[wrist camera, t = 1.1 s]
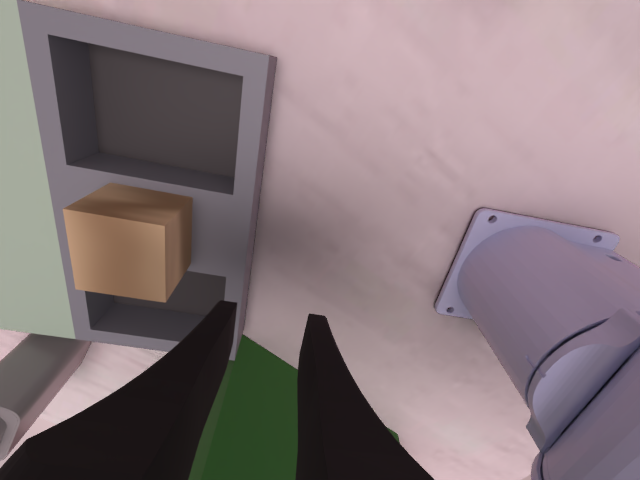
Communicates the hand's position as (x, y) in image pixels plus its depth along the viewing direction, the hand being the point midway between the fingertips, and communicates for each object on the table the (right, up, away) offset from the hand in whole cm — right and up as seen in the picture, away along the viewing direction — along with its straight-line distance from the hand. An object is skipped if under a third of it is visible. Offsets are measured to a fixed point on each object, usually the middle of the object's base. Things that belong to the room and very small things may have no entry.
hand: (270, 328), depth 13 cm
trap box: (-10, +6, +7) cm, 14 cm away
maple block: (-7, +4, +5) cm, 9 cm away
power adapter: (-17, -4, +13) cm, 22 cm away
